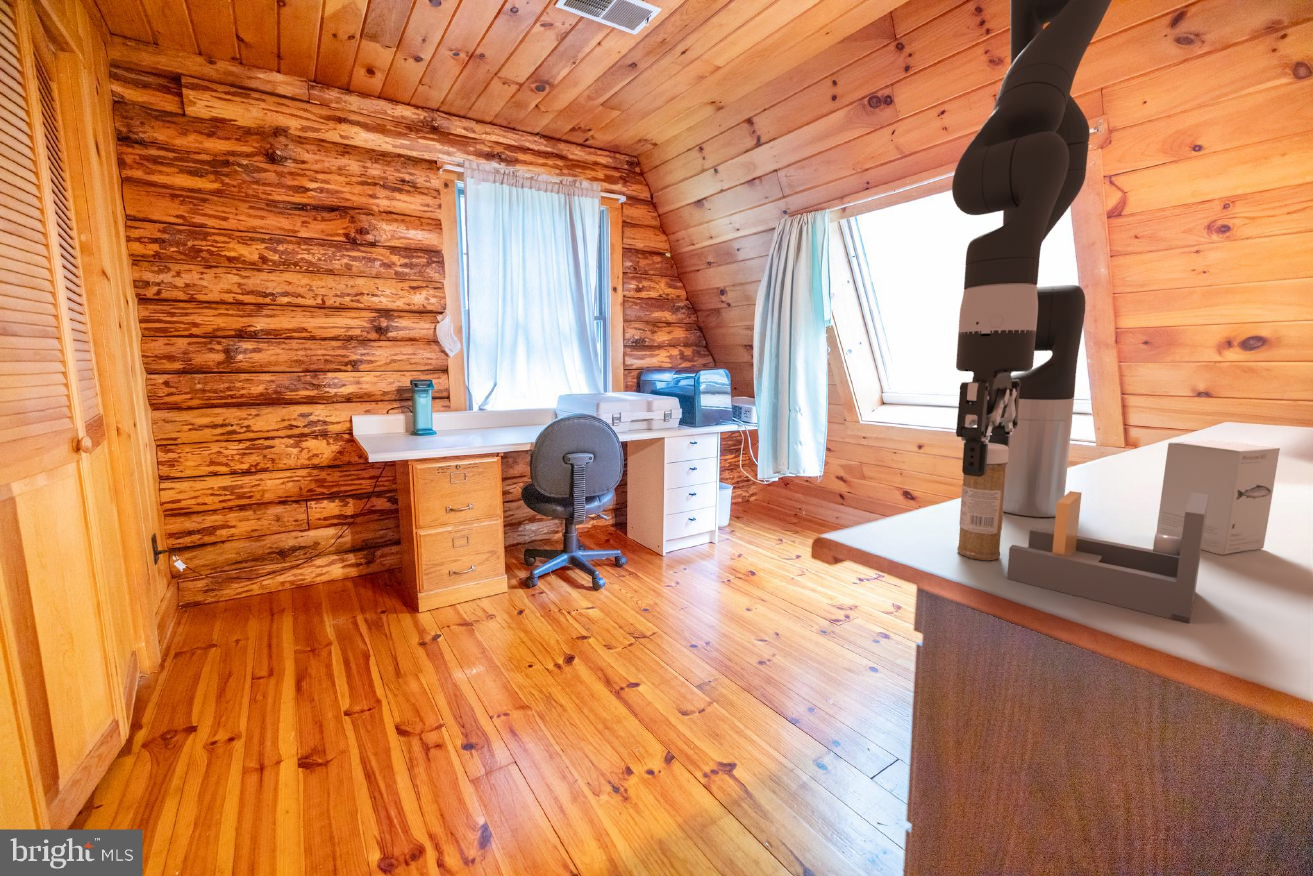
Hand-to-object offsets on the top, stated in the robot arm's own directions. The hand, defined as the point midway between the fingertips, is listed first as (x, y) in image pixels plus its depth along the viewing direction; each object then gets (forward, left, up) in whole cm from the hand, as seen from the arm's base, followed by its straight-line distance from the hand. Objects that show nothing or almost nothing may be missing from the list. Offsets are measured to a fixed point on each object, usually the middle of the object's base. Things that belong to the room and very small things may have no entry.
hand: (985, 470), depth 65 cm
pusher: (+1, +9, -10) cm, 14 cm away
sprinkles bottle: (0, 0, -11) cm, 11 cm away
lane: (+1, +11, -10) cm, 15 cm away
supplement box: (-24, +19, -11) cm, 33 cm away
